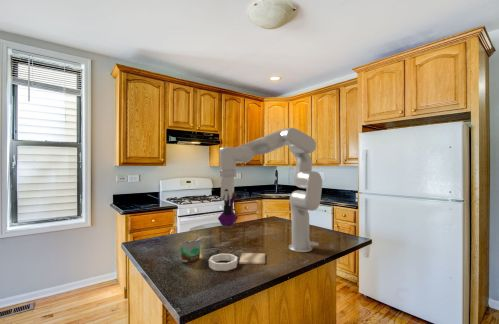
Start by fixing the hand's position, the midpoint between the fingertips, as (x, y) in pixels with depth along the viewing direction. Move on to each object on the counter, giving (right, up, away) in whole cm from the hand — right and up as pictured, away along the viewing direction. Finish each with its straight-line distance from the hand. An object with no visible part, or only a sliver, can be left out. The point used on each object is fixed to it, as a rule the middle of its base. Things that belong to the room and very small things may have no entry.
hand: (228, 212), depth 119 cm
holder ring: (-2, -24, -1) cm, 24 cm away
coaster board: (+11, -24, +6) cm, 27 cm away
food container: (-17, -24, +4) cm, 30 cm away
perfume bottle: (-1, -6, 0) cm, 6 cm away
